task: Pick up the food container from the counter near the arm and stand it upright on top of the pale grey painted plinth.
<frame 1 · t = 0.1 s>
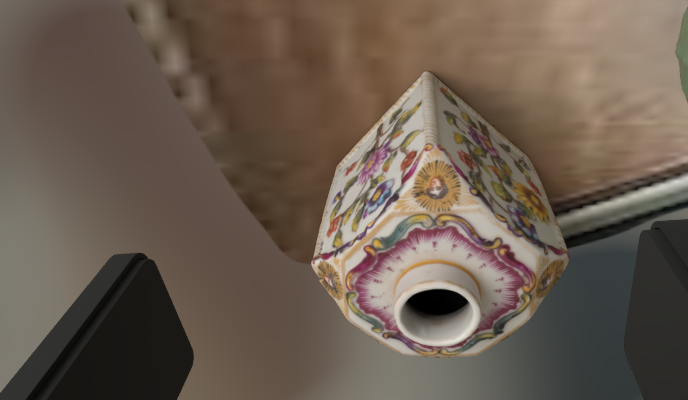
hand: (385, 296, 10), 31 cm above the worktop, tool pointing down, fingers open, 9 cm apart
decorative jar: (431, 161, 43), on the worktop
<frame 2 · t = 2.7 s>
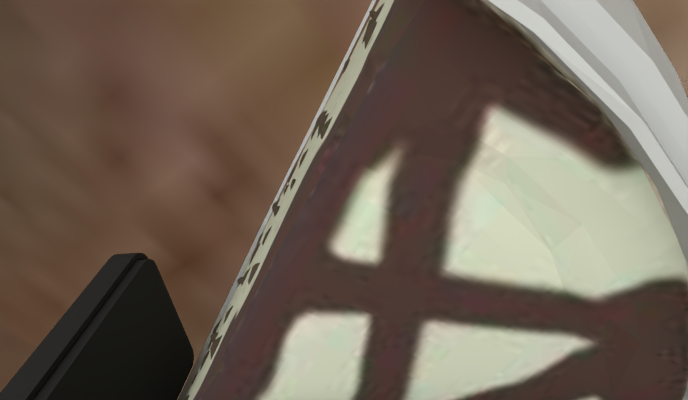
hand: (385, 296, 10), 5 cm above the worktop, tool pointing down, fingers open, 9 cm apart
food container: (421, 150, 15), on the worktop, touching gripper
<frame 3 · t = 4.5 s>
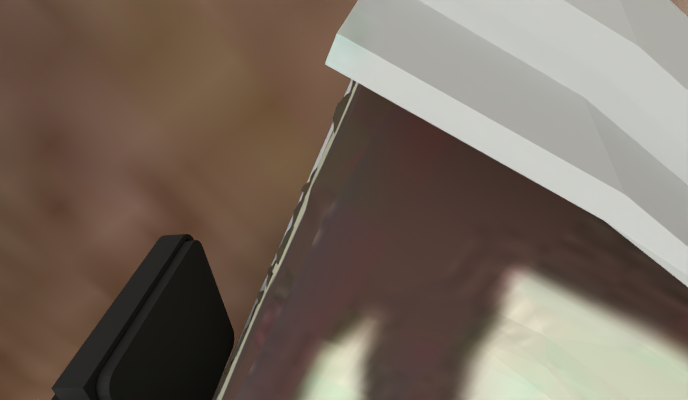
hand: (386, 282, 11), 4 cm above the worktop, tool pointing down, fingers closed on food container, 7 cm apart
food container: (436, 194, 13), point 1 cm above the worktop, touching gripper
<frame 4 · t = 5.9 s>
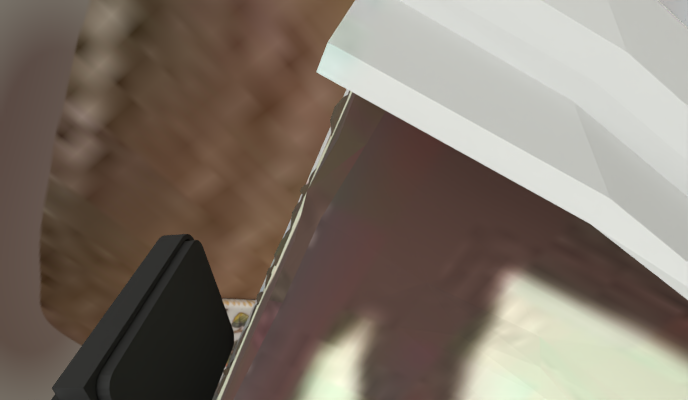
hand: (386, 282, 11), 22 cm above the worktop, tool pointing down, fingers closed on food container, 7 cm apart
food container: (435, 195, 13), point 19 cm above the worktop, touching gripper
decorative jar: (237, 346, 44), on the worktop
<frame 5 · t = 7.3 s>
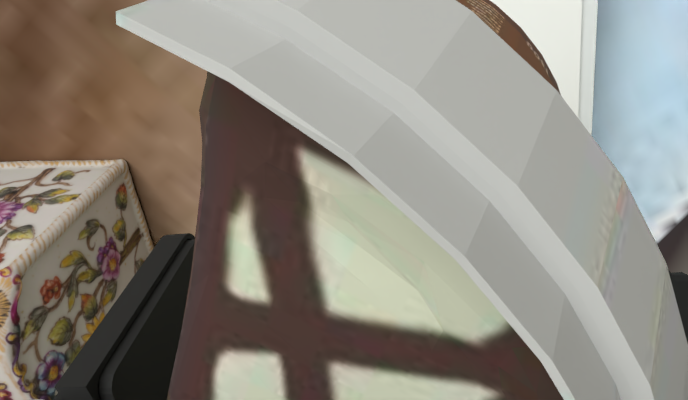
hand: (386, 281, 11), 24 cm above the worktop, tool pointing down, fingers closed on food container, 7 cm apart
food container: (482, 186, 14), point 20 cm above the worktop, touching gripper
decorative jar: (85, 220, 42), on the worktop
base: (452, 53, 31), on the worktop
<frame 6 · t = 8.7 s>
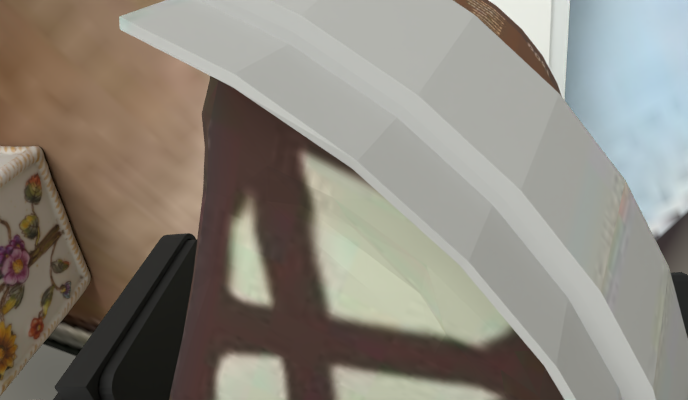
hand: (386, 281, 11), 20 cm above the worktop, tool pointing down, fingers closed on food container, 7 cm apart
food container: (483, 187, 14), point 15 cm above the worktop, touching gripper
decorative jar: (1, 214, 38), on the worktop
base: (406, 33, 27), on the worktop
when the fingers open (8 cm above the worktop, at t = 11.2 s): food container stays where it is, resting on base.
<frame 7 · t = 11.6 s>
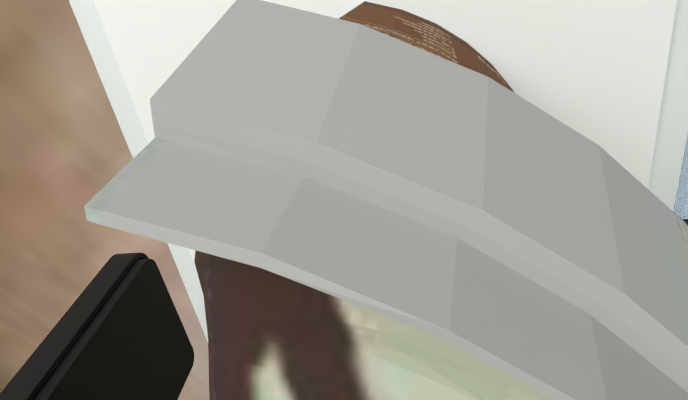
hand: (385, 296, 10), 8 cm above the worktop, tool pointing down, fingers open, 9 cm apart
food container: (457, 204, 14), point 4 cm above the worktop, touching base, gripper
base: (397, 128, 17), on the worktop
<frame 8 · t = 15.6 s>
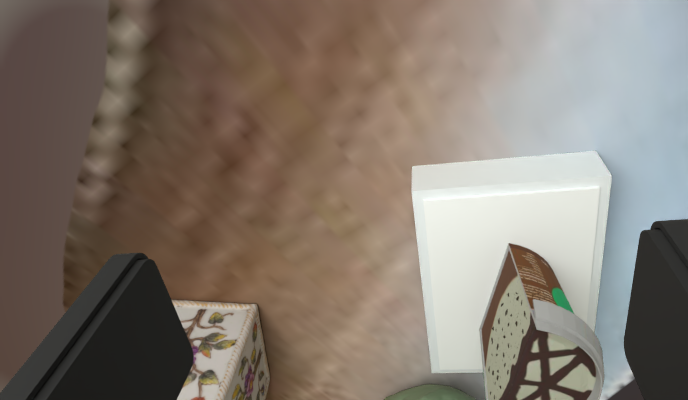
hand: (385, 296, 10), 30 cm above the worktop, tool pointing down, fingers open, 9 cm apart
food container: (530, 292, 43), point 4 cm above the worktop, touching base
cabbage: (427, 399, 58), on the worktop
decorative jar: (215, 338, 57), on the worktop
base: (501, 258, 46), on the worktop
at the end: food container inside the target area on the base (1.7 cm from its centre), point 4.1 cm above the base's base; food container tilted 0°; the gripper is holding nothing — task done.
